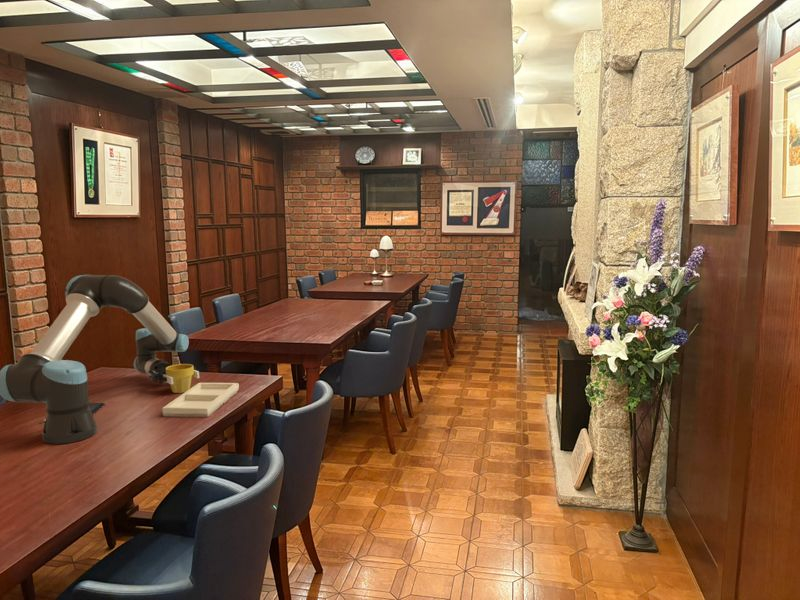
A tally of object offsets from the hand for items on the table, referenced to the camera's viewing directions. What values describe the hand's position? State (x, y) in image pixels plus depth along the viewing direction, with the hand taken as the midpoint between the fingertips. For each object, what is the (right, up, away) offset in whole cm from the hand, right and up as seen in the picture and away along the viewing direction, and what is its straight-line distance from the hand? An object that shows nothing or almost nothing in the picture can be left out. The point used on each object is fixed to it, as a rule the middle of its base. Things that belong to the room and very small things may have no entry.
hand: (185, 377), depth 223 cm
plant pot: (-3, -6, +4) cm, 7 cm away
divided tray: (+11, -8, -11) cm, 17 cm away
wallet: (-31, -10, -22) cm, 39 cm away
